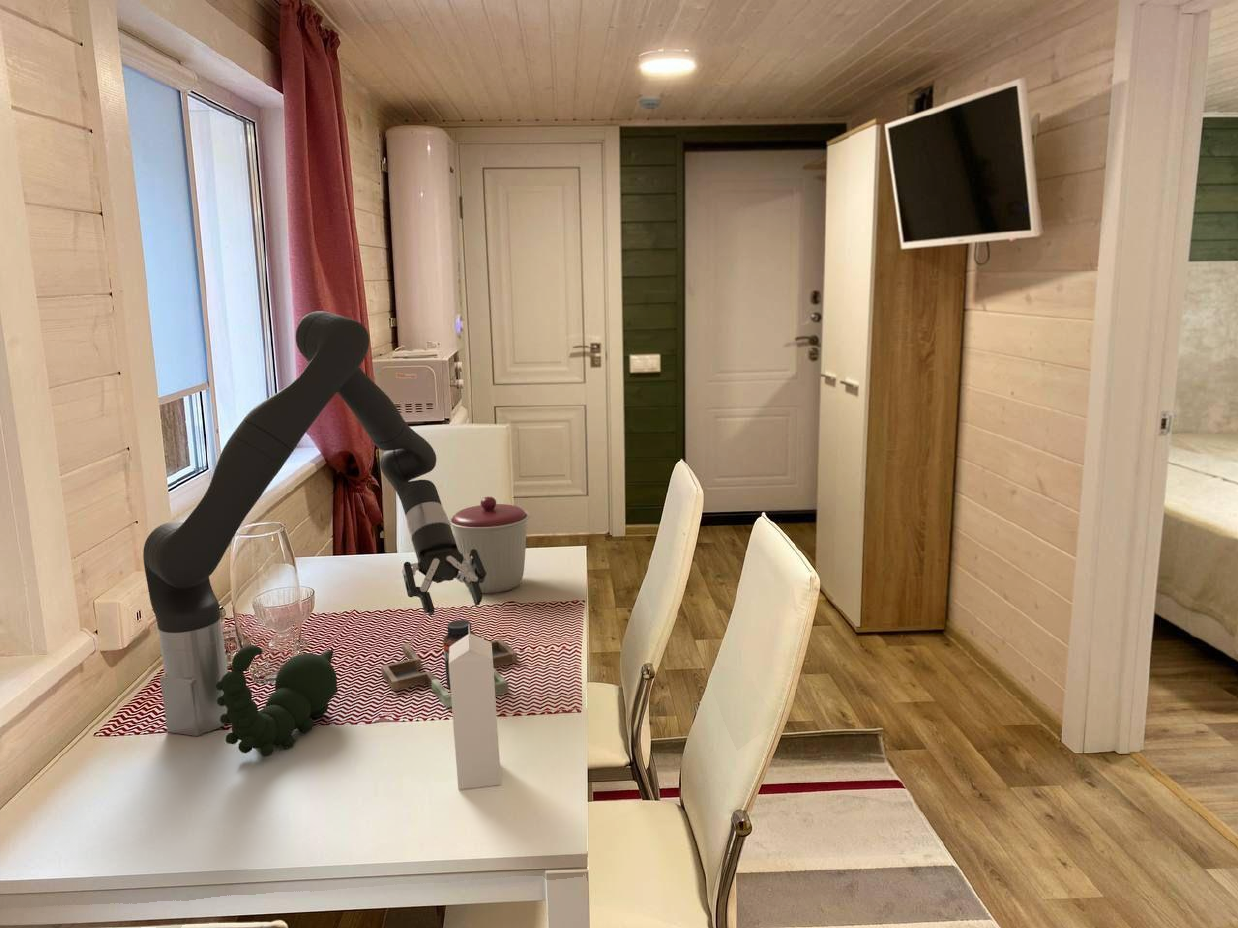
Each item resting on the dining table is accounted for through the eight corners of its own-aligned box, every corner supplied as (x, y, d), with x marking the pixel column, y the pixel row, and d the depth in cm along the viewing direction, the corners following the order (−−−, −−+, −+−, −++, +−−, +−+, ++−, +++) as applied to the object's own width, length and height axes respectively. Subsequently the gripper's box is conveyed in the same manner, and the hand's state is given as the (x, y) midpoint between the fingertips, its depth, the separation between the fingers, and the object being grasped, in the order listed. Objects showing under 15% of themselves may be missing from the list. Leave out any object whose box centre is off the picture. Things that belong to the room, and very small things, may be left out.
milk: (499, 764, 136) (491, 621, 132) (501, 785, 131) (492, 636, 126) (457, 768, 136) (447, 624, 131) (457, 790, 130) (446, 640, 125)
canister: (543, 591, 209) (538, 500, 205) (463, 604, 203) (456, 511, 199) (521, 569, 226) (516, 484, 221) (446, 580, 219) (440, 493, 215)
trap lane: (371, 659, 175) (370, 650, 175) (487, 634, 186) (486, 625, 185) (410, 716, 152) (409, 706, 152) (541, 683, 162) (540, 674, 162)
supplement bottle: (484, 677, 166) (480, 617, 164) (476, 692, 160) (472, 630, 158) (451, 676, 167) (447, 617, 164) (442, 691, 161) (437, 629, 158)
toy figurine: (270, 785, 136) (363, 696, 159) (247, 669, 131) (347, 594, 153) (217, 777, 139) (316, 690, 162) (192, 663, 133) (298, 590, 156)
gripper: (464, 536, 180) (489, 609, 172) (390, 549, 173) (413, 626, 166) (470, 515, 174) (497, 590, 166) (395, 527, 168) (418, 606, 160)
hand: (455, 608), depth 166 cm, fingers open, 8 cm apart
